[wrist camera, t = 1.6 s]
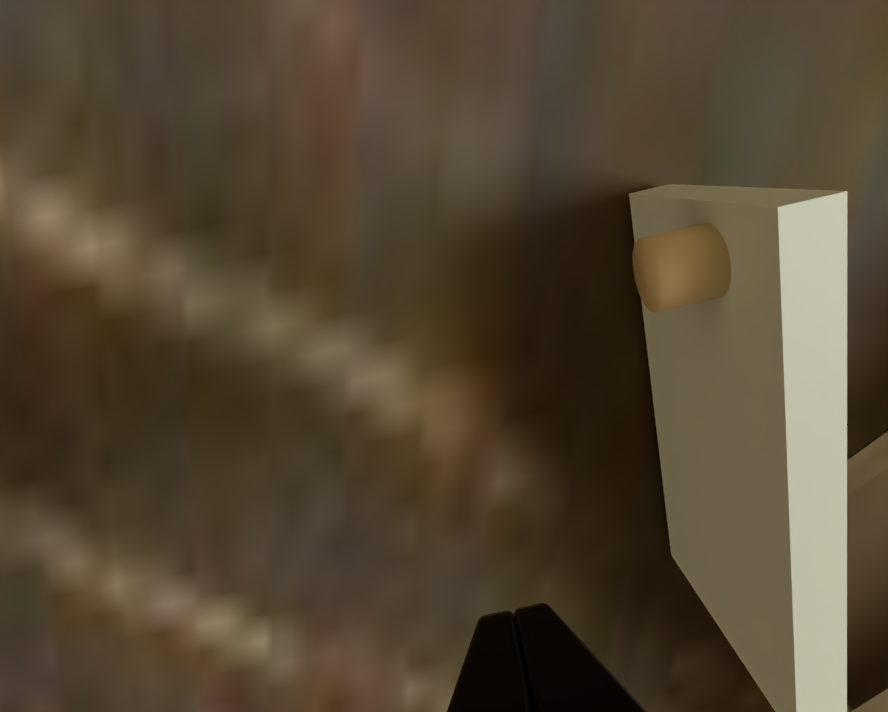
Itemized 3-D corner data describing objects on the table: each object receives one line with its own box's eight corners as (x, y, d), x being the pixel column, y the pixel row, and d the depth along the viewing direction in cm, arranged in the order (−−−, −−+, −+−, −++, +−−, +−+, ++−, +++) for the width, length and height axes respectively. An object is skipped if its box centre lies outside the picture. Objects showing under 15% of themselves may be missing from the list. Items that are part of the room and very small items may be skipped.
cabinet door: (669, 184, 14) (847, 191, 8) (703, 547, 17) (846, 734, 11) (580, 204, 14) (695, 226, 8) (632, 563, 17) (739, 757, 11)
